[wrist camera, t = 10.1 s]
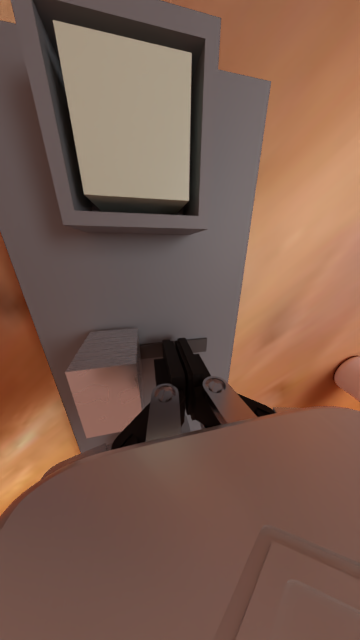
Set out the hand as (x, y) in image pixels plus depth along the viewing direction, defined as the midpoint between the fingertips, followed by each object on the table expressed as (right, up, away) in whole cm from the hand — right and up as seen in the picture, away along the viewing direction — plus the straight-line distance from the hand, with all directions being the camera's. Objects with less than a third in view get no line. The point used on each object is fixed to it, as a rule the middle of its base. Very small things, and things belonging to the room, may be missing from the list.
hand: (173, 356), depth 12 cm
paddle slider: (-4, 0, 0) cm, 4 cm away
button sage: (-2, +10, -4) cm, 11 cm away
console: (-2, +2, +3) cm, 4 cm away
